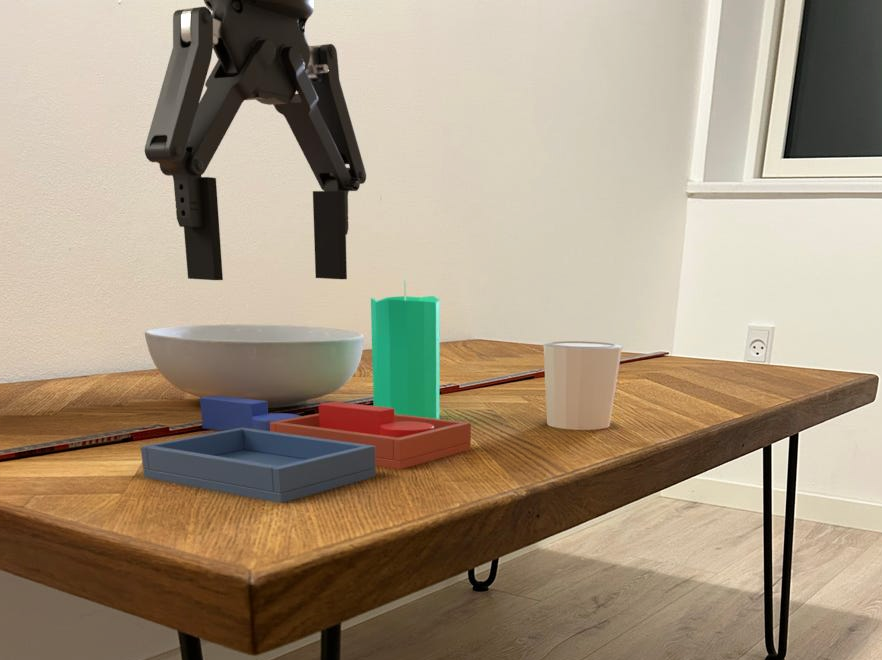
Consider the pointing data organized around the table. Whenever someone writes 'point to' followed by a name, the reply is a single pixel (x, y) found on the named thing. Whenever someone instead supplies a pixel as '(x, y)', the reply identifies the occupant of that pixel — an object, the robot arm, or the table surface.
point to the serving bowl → (256, 360)
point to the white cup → (580, 383)
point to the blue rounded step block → (237, 413)
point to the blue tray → (259, 463)
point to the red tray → (391, 439)
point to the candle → (406, 354)
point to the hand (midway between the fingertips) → (272, 279)
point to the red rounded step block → (367, 420)
